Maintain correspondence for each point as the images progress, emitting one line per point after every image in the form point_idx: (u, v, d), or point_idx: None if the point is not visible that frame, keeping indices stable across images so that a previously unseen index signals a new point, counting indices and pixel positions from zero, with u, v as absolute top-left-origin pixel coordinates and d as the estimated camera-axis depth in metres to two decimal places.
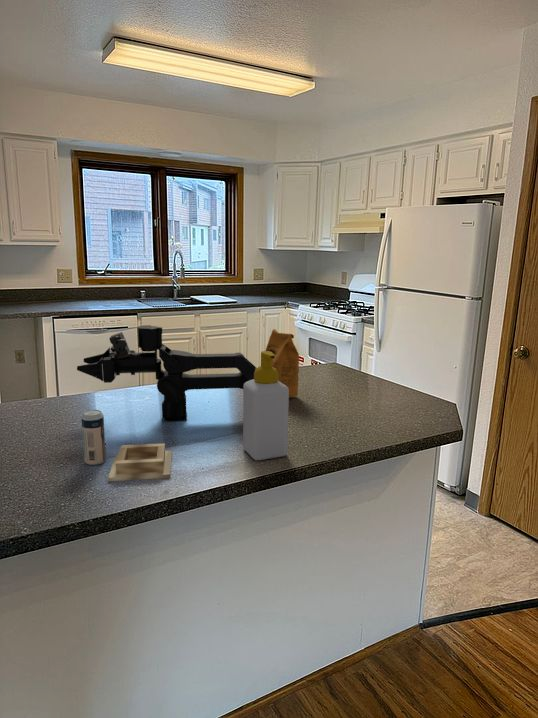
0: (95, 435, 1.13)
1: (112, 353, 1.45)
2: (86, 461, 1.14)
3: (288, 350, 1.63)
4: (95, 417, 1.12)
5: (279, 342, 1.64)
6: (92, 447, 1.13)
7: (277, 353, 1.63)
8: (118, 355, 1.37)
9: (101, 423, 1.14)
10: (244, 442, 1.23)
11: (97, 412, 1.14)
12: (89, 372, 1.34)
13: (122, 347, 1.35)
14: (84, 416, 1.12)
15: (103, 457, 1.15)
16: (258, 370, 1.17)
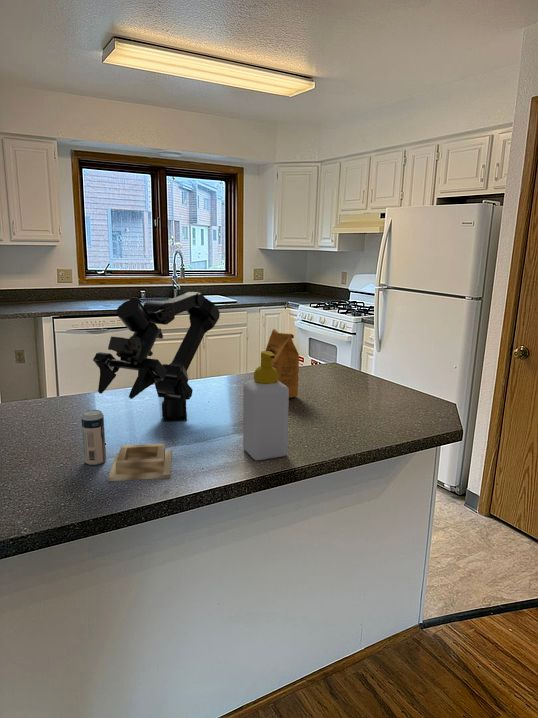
0: (95, 435, 1.13)
1: (107, 362, 1.25)
2: (86, 461, 1.14)
3: (288, 350, 1.63)
4: (95, 417, 1.12)
5: (279, 342, 1.64)
6: (92, 447, 1.13)
7: (277, 353, 1.63)
8: (137, 353, 1.22)
9: (101, 423, 1.14)
10: (244, 442, 1.23)
11: (97, 412, 1.14)
12: (141, 389, 1.21)
13: (139, 343, 1.21)
14: (84, 416, 1.12)
15: (103, 457, 1.15)
16: (258, 370, 1.17)
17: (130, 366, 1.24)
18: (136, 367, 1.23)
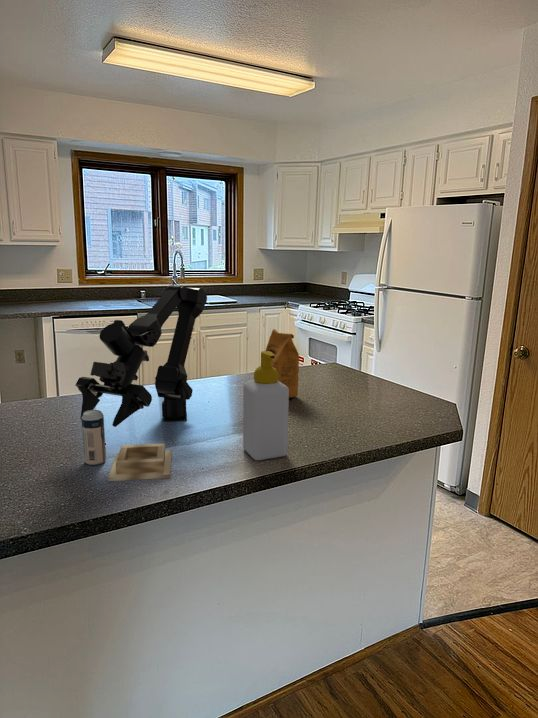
0: (95, 435, 1.13)
1: (90, 387, 1.20)
2: (86, 461, 1.14)
3: (288, 350, 1.63)
4: (95, 417, 1.12)
5: (279, 342, 1.64)
6: (92, 447, 1.13)
7: (277, 353, 1.63)
8: (121, 379, 1.17)
9: (101, 423, 1.14)
10: (244, 442, 1.23)
11: (97, 412, 1.14)
12: (126, 416, 1.16)
13: (123, 369, 1.16)
14: (84, 416, 1.12)
15: (103, 457, 1.15)
16: (258, 370, 1.17)
17: (114, 392, 1.19)
18: (120, 393, 1.18)
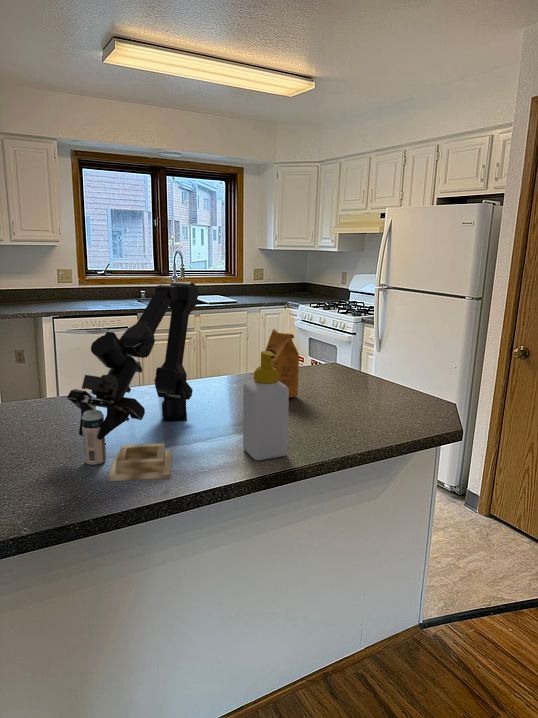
0: (95, 435, 1.13)
1: None
2: (86, 461, 1.14)
3: (288, 350, 1.63)
4: (95, 417, 1.12)
5: (279, 342, 1.64)
6: (92, 447, 1.13)
7: (277, 353, 1.63)
8: (113, 392, 1.15)
9: (101, 423, 1.13)
10: (244, 442, 1.23)
11: (97, 412, 1.14)
12: (111, 428, 1.15)
13: (115, 382, 1.13)
14: (84, 416, 1.12)
15: (103, 457, 1.15)
16: (258, 370, 1.17)
17: (99, 403, 1.18)
18: (105, 405, 1.17)
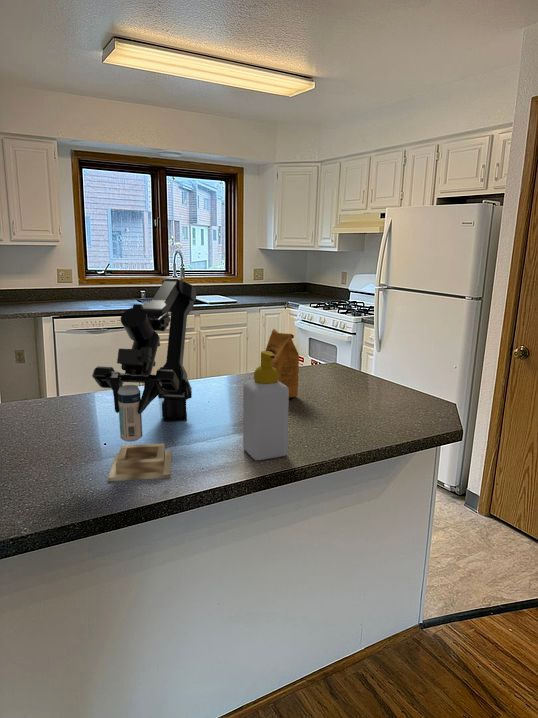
0: (135, 409, 1.10)
1: None
2: (124, 438, 1.11)
3: (288, 350, 1.63)
4: (134, 391, 1.09)
5: (279, 342, 1.64)
6: (132, 422, 1.10)
7: (277, 353, 1.63)
8: (147, 365, 1.13)
9: (139, 397, 1.11)
10: (244, 442, 1.23)
11: (133, 387, 1.11)
12: (148, 402, 1.12)
13: (151, 354, 1.11)
14: (123, 391, 1.09)
15: (141, 432, 1.13)
16: (258, 370, 1.17)
17: (129, 379, 1.14)
18: (137, 379, 1.14)
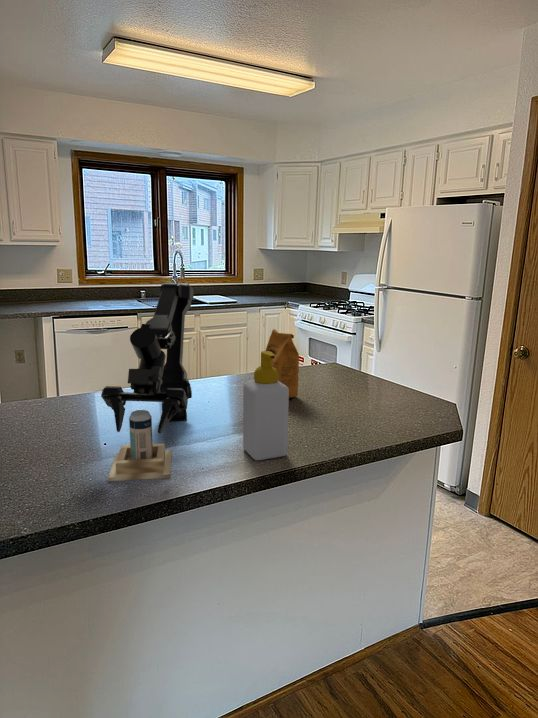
0: (147, 435, 1.11)
1: (119, 396, 1.14)
2: None
3: (288, 350, 1.63)
4: (146, 417, 1.11)
5: (279, 342, 1.64)
6: (144, 448, 1.11)
7: (277, 353, 1.63)
8: (156, 384, 1.14)
9: (151, 422, 1.12)
10: (244, 442, 1.23)
11: (144, 412, 1.12)
12: (167, 421, 1.13)
13: (161, 373, 1.13)
14: (135, 417, 1.10)
15: (152, 456, 1.14)
16: (258, 370, 1.17)
17: (147, 398, 1.15)
18: (155, 398, 1.15)
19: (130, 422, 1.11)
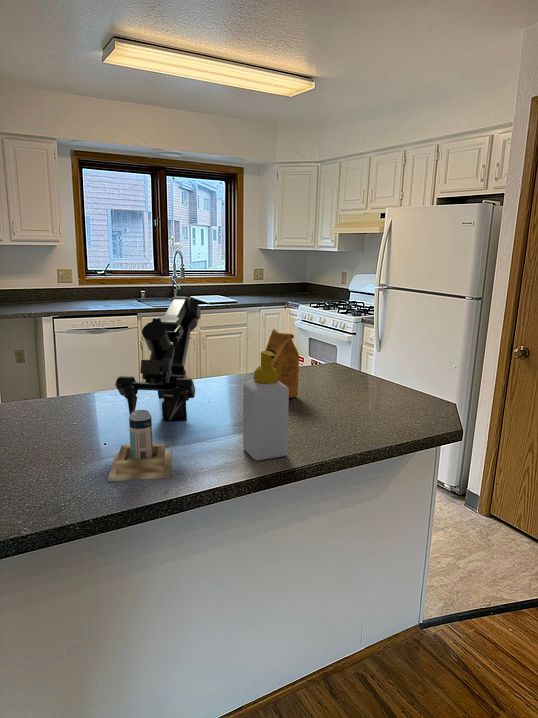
0: (147, 434, 1.11)
1: (132, 385, 1.23)
2: None
3: (288, 350, 1.63)
4: (146, 417, 1.11)
5: (279, 342, 1.64)
6: (144, 447, 1.11)
7: (277, 353, 1.63)
8: (166, 374, 1.23)
9: (150, 422, 1.12)
10: (244, 442, 1.23)
11: (144, 412, 1.12)
12: (176, 408, 1.22)
13: (171, 364, 1.22)
14: (135, 417, 1.10)
15: (152, 456, 1.14)
16: (258, 370, 1.17)
17: (158, 387, 1.24)
18: (165, 388, 1.24)
19: (130, 422, 1.11)
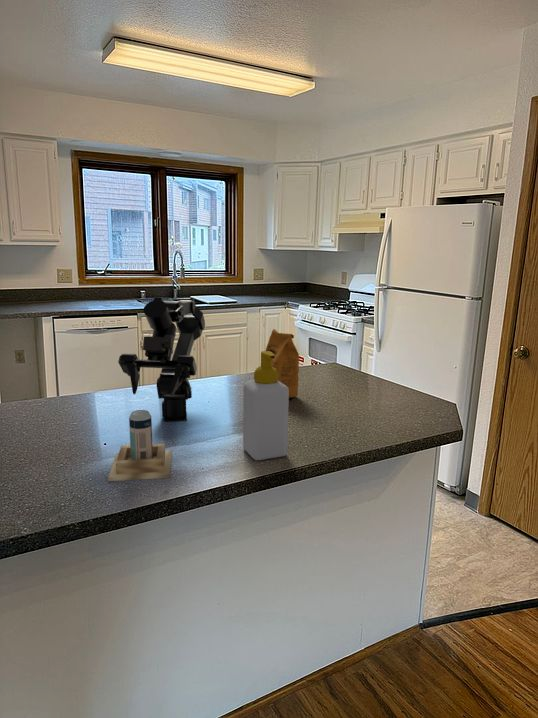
0: (147, 434, 1.11)
1: (134, 362, 1.26)
2: None
3: (288, 350, 1.63)
4: (146, 417, 1.11)
5: (279, 342, 1.64)
6: (144, 447, 1.11)
7: (277, 353, 1.63)
8: (168, 351, 1.26)
9: (150, 422, 1.12)
10: (244, 442, 1.23)
11: (144, 412, 1.12)
12: (178, 385, 1.25)
13: (173, 341, 1.24)
14: (135, 417, 1.10)
15: (152, 456, 1.14)
16: (258, 370, 1.17)
17: (160, 364, 1.26)
18: (167, 365, 1.26)
19: (130, 422, 1.11)
